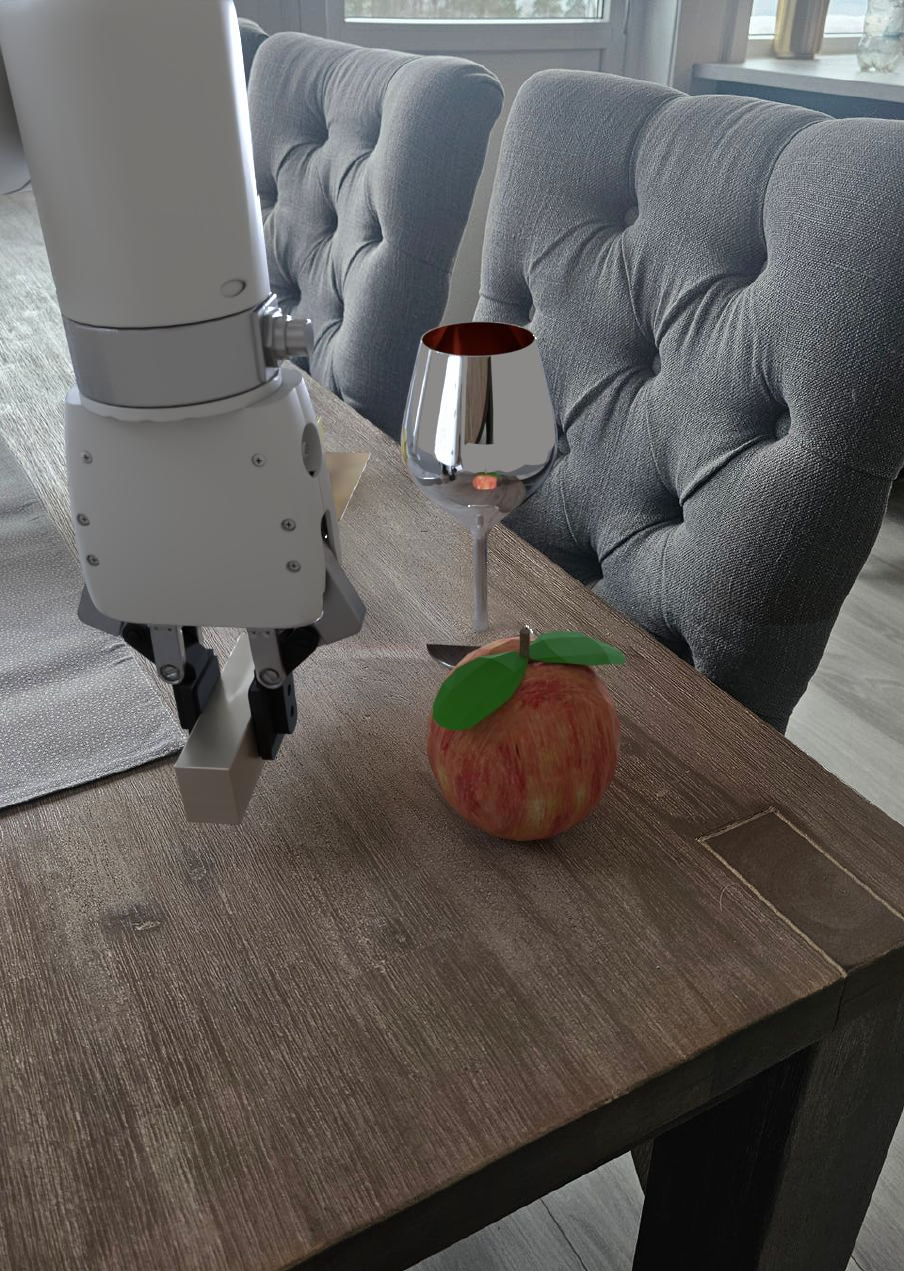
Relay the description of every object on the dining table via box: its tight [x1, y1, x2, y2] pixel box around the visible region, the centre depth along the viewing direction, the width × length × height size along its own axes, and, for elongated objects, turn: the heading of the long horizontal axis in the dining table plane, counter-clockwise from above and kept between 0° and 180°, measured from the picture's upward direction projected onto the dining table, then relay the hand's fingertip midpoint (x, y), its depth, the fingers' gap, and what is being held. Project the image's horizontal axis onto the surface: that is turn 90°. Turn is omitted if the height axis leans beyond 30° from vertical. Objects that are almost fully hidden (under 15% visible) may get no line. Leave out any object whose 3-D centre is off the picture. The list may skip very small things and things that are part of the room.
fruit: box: [426, 627, 627, 842], centre depth 47 cm, size 9×10×10 cm
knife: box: [173, 632, 296, 826], centre depth 54 cm, size 22×2×3 cm, turn 173°
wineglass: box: [400, 320, 559, 670], centre depth 57 cm, size 8×8×18 cm
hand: (242, 737), depth 49 cm, fingers closed on knife, 2 cm apart
